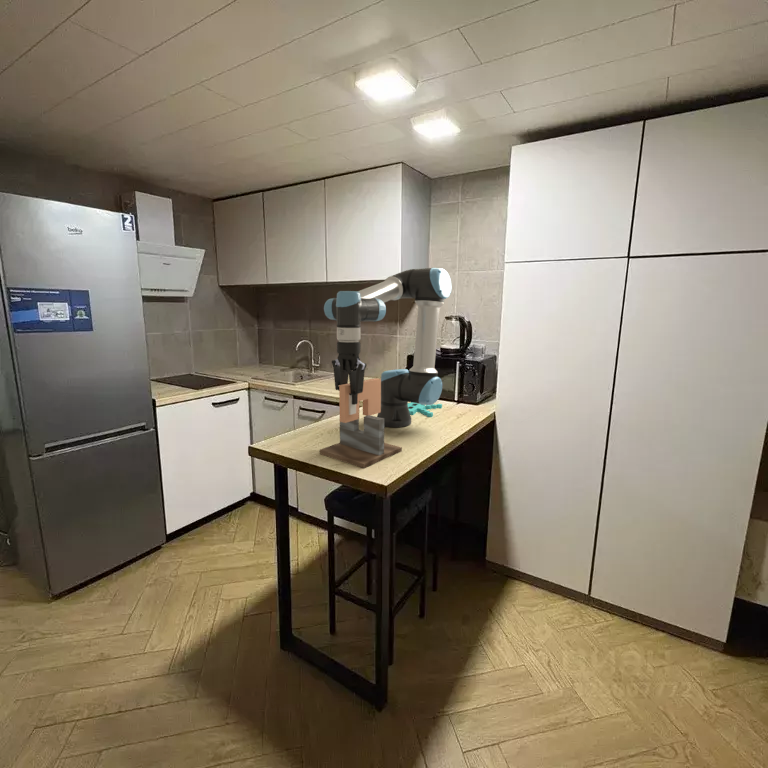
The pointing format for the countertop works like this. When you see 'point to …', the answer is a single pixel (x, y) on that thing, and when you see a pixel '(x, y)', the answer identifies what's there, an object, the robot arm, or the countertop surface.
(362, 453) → the slotted stand
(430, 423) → the countertop surface
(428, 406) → the alien figure
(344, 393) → the terracotta plate
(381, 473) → the countertop surface
